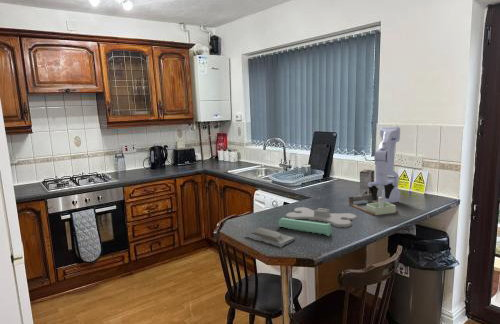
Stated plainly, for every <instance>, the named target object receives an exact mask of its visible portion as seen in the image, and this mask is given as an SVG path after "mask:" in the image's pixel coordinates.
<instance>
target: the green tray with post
mask: <svg viewBox="0 0 500 324" xmlns="http://www.w3.org/2000/svg"><path fill="white" fill-rule="evenodd" d="M377 198H378V199H377V201H378V202H377V203H372V202H370V203H366V205H365V206H366V207H365V209H366V210H368V211H370V212H372V213H375V216H380V215H387V214H394V213H396V210H397V207H396V206H397V205H395V204H393V203H388V202H383V197H382V196H378V197H377Z"/></svg>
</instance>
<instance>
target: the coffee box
mask: <svg viewBox="0 0 500 324" xmlns="http://www.w3.org/2000/svg"><path fill="white" fill-rule="evenodd" d="M374 181H375V170H374V169H373V170H372V169H363V170H361V171H359V195H368V194H371V191H370V189H369V188H368V183H370V182H374Z"/></svg>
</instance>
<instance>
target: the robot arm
mask: <svg viewBox="0 0 500 324" xmlns="http://www.w3.org/2000/svg"><path fill="white" fill-rule="evenodd" d="M379 132H380V133H379V135H380V139H381V140H382V141H381V142H379V145H378V148H377V149H376V151H375V152H374V165H375V176H374V182H370V183H368V188H369V189H370V191H371V194H372V201H378V199H377V198H378V197H377V196H378V190H379V187H381V197H383V202H388V203H390V204H393V203H398V202H399V203H401V204H402V202H401V190H400V188H399V183H400V179H399V174H398V172H396V171H395V153H396V151H395V150H396V144H397V143H398V142H400V140H401V127H399V126H382V127H380V131H379Z"/></svg>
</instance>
